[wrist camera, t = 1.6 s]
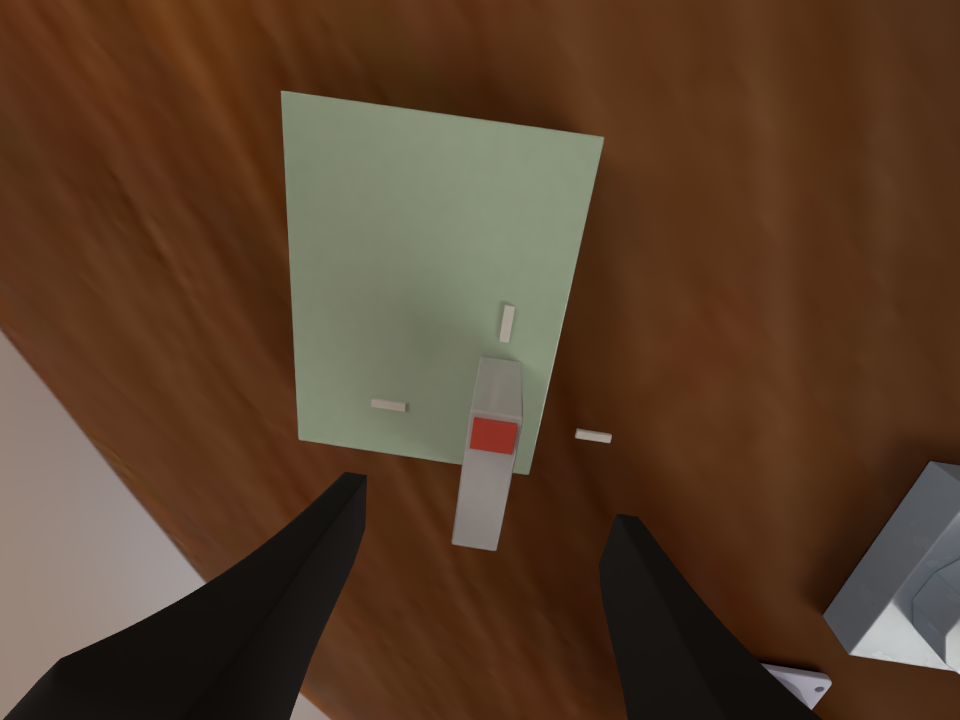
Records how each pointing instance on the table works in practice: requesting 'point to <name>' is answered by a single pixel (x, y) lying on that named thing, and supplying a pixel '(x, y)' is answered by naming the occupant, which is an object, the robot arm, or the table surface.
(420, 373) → the plate
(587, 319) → the table surface
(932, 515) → the button housing
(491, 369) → the tap handle
